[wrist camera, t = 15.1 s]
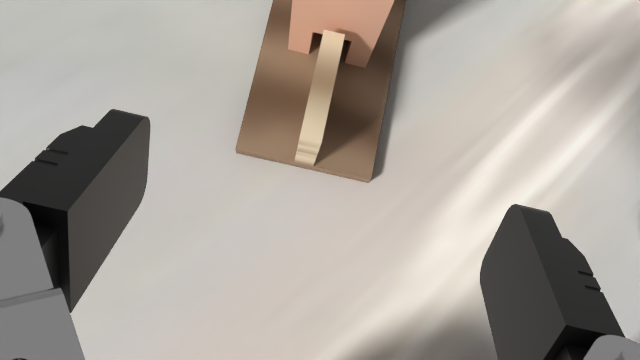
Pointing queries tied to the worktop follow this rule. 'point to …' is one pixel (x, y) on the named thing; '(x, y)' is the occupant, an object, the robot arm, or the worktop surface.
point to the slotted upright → (339, 24)
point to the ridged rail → (318, 99)
